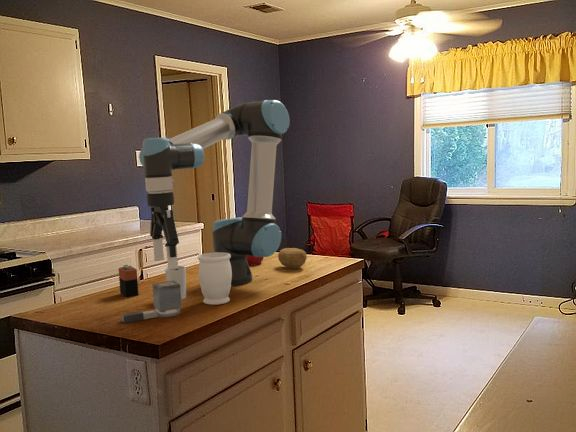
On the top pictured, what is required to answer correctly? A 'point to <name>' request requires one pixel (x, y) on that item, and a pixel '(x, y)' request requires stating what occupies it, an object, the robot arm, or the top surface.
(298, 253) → the potato
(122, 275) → the battery
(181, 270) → the white pillar candle
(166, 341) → the top surface
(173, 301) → the grey rounded cube
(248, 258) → the pomegranate
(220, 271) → the jar
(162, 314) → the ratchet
